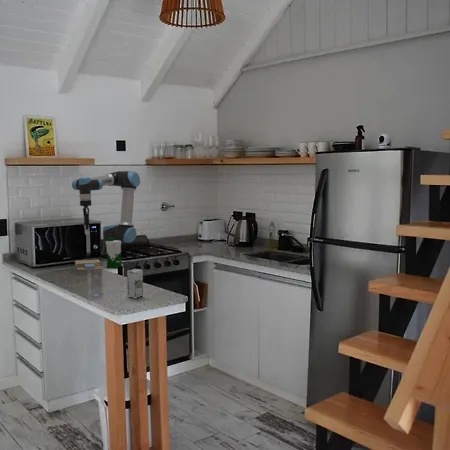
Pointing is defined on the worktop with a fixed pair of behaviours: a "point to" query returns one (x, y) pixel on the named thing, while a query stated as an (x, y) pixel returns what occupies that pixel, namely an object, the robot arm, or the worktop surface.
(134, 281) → the syrup box
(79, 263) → the board
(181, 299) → the worktop surface
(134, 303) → the worktop surface
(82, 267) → the mat
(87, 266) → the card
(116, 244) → the milk carton
